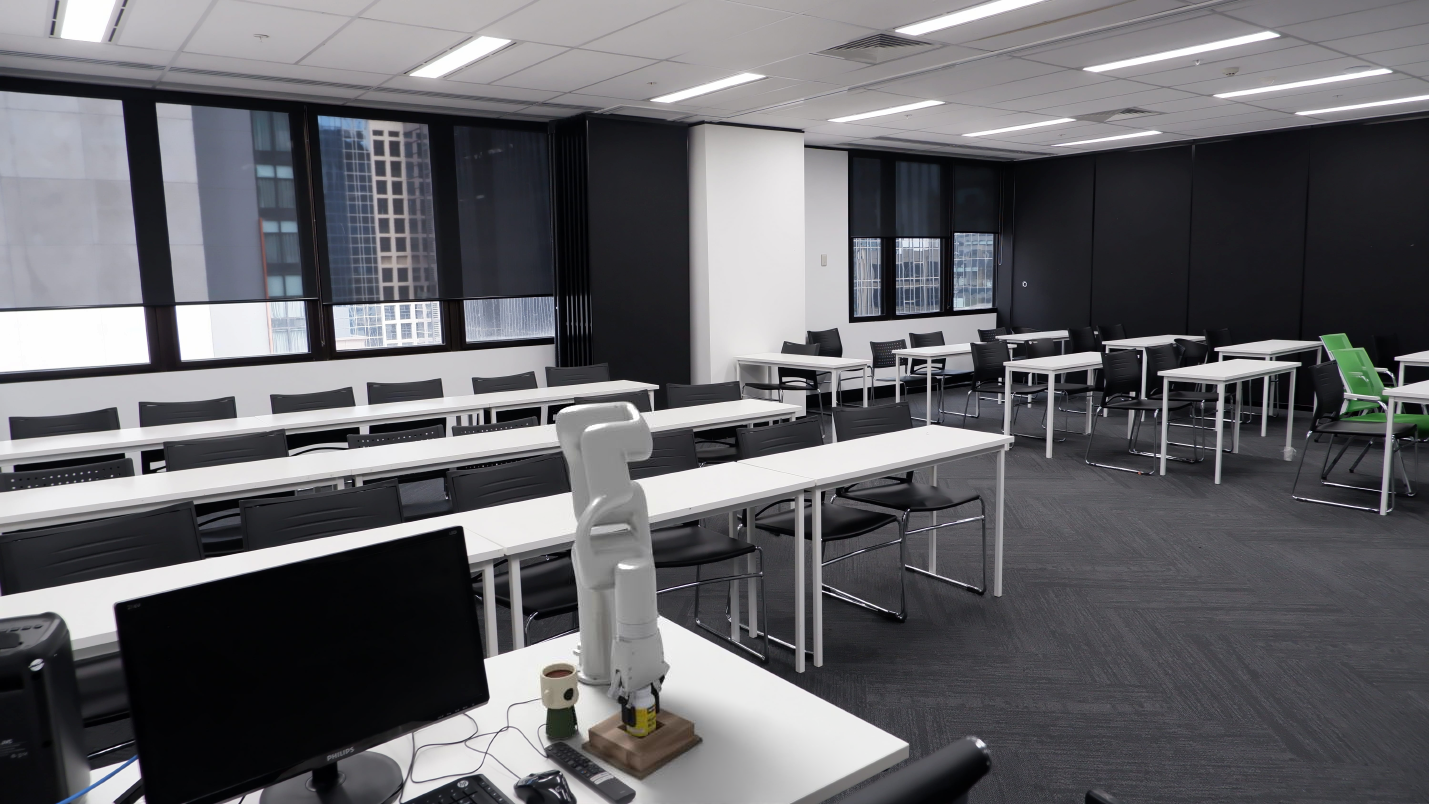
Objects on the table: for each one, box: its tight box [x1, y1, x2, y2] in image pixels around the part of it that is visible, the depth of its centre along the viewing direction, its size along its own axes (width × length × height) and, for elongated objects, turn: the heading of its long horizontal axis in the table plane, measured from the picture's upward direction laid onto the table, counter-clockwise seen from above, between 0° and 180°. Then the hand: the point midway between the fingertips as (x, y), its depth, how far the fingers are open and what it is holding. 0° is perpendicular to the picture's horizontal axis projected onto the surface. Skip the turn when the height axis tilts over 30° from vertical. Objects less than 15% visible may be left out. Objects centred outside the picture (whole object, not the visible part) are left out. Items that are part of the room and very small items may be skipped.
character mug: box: [539, 662, 580, 740], centre depth 165 cm, size 11×7×13 cm, turn 163°
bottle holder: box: [581, 707, 703, 781], centre depth 161 cm, size 16×16×4 cm
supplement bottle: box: [627, 684, 656, 739], centre depth 160 cm, size 5×5×10 cm
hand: (641, 716), depth 160 cm, fingers closed on supplement bottle, 5 cm apart
